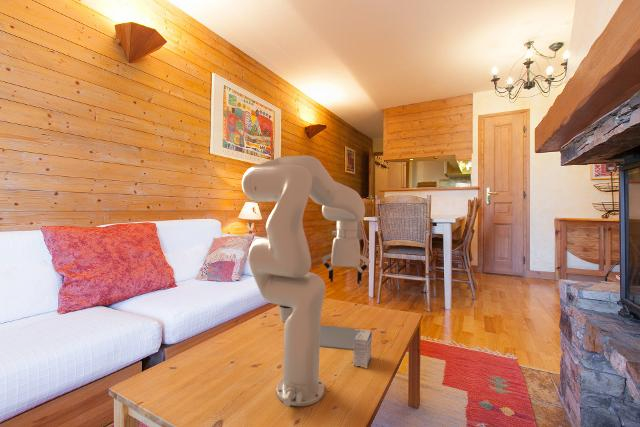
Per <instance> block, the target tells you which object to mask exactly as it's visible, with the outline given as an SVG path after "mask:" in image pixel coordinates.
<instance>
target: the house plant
mask: <svg viewBox="0 0 640 427" xmlns="http://www.w3.org/2000/svg"><path fill="white" fill-rule="evenodd" d="M278 309H279V316H280V317H279V318H280V322H282V323H285V322H286V320H287V318H288V317H289V316H290V315H291V313H292V312H293V308H291V307H288V306H283V305H278Z"/></svg>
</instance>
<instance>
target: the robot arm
mask: <svg viewBox="0 0 640 427" xmlns="http://www.w3.org/2000/svg"><path fill="white" fill-rule="evenodd" d="M241 188H242V191H243V193H244V195H245V196H246V197H247V198H248V199H249V200H251V201H255V202H264V203H267V202H270V203H275V206H274V208H273V209H272V211H271V213H270V214H269V215H268V217H267V220H266V223H265V232H266V234H267V235H266V236H261V237H259V238H257V239H255V240H254V241H253V242H252V243H251V245H250V248H249V252H248V264H249V268H250V272H251V273H252V277H253V278H254V281H255V283H256V286H257V289H258V290H259V292H260V295H261V297H262V298H263V299H264V300H265V301H266V302H267V303H270V304H274V305H278V306H279V305H283V306H288V307H291V308H293V312H292V313H291V315H290V316H289V317H288V318H287V320H286V322H284V326H283V354H282V355H283V359H282V360H283V361H282V364H283V365H282V379H281V380H280V381H279V382H278V383H277V385H276V396H277V397H278V399H279V400H280V401H282V403H283V405H284V406H285V407H290V406H293V407H305V406H306V407H307V406H311V405H314V404H315V403H317V402H319V401H320V400H321V399H322V398H323V396H324V394H325V384H324V382H323V381H322V380H321V379H320V378H319V377H320V350H321V349H320V325H321V321H322V309H323V306H324V305H323V303H324V299H325V295H326V284H325V281H324V279H323V278H322V277H321V276H320V275H318V274H317V273H314V272H310V270H311V267H312V258H311V252H310V247H309V244H308V240H307V237H306V234H305V230H304V226H303V218H304V213H305V209H306V207H307V204H308V201H309V199H311V200H312V202H314V203H315V204H316V205H317V204H318V205H321V206H322V207H321V212H322V213H321V214H322V216H323V217H324V219H326V220H327V221H332V222H334V221H335V222H336V226H335V227H336V228H335V230H332V231H331V232H332V233H331V235H332V236H333V235H334V236H335V237H334V238H333V241H332V247H331V253H329V254H326V255H324V256H323V257H322V258H321V261H322V264H323V265H324V267H325V268H326V269H327V271H328V280H329V281H330V283H333V281H334V268H335V267H339V268H341V267H342V268H356V269H357V270H358V271H357V282H356V284H359V285H360V282H362V273H363V272H364V271H365V270H366V269H367V267H368V266H369V264H370V263H371V260H370V259H369V258H367V257H365V256H364V255H363V254H361V247H360V246H361V244H360V239H359V238H358V222H361V221H362V220H363V219H364V217H365V215H366V206H365V202H364V200H363V199H362V197H361V196H360V194H359V193H358V192H357V191H356V190H355V189H353V188H351V187H349V186H347V185H344V184H342V183H340V182H337V181H336V180H334V179H333V177H332V176H331V175H330V174H329V172H328V171H327V169H326V168H325V167H324V165H323V164H322V163H321V161H320V160H319V159H318V158H316V157H315V156H313V155H293V156H281V157H277V158H273V159H270V160H267V161H264V162H262V163H258V164H255V165H253V166H251V167H249V168H248V169H247V170H246V171H245V172H244V174H243V176H242V180H241ZM329 259H331V260H330V261H331V262H330V263H331V264H330V263H329V262H328V261H327V260H329ZM361 261H364V264H363V265H362V266H361V265H360V264H361Z"/></svg>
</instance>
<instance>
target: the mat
mask: <svg viewBox="0 0 640 427" xmlns="http://www.w3.org/2000/svg"><path fill="white" fill-rule="evenodd" d="M355 329H359V328H355V327H348V326H347V327H344V326H334V325H322V324H320V347H321V348H328V349H329V348H330V349H338V348H341V349H340V350H348V349H354V339H355V337H356V335H357V332H358V330H356V331H355Z"/></svg>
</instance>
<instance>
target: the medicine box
mask: <svg viewBox="0 0 640 427" xmlns="http://www.w3.org/2000/svg"><path fill="white" fill-rule="evenodd" d="M372 337H373V333H372V331H369V330H365V329H361V330H359V331H358V333H357V335H356V337H355V339H354V350H353V358H352V360H353V362H352V365H355V366H354V367H357V366H362V367H367V366H368V367H369V364H368V363H370V361H369V360H371V358H372V341H373V340H372ZM370 357H371V358H370ZM362 367H361V368H362ZM368 367H367V368H368Z"/></svg>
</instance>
